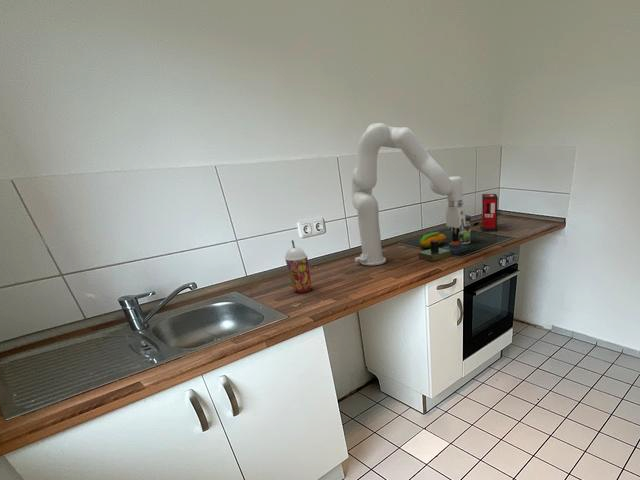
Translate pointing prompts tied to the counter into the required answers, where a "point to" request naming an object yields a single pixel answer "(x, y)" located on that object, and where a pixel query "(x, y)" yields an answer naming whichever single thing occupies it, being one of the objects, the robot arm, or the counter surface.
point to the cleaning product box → (489, 212)
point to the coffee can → (465, 231)
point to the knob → (434, 246)
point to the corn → (431, 236)
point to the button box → (456, 248)
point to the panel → (434, 254)
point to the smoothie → (298, 269)
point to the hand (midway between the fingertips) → (455, 240)
